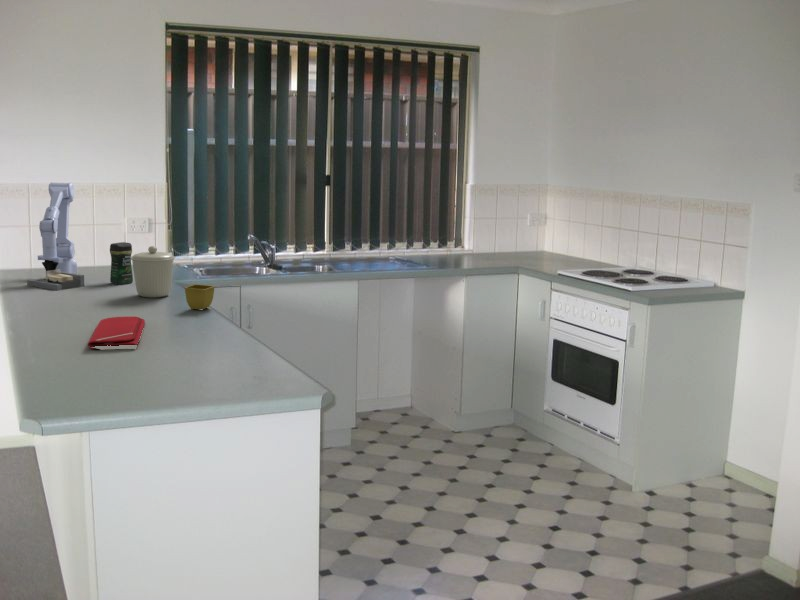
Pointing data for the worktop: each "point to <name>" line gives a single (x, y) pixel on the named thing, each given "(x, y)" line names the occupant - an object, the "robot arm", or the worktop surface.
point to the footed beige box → (57, 276)
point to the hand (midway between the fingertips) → (51, 277)
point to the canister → (153, 272)
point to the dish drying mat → (117, 331)
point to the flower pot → (199, 296)
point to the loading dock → (76, 282)
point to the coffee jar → (121, 263)
